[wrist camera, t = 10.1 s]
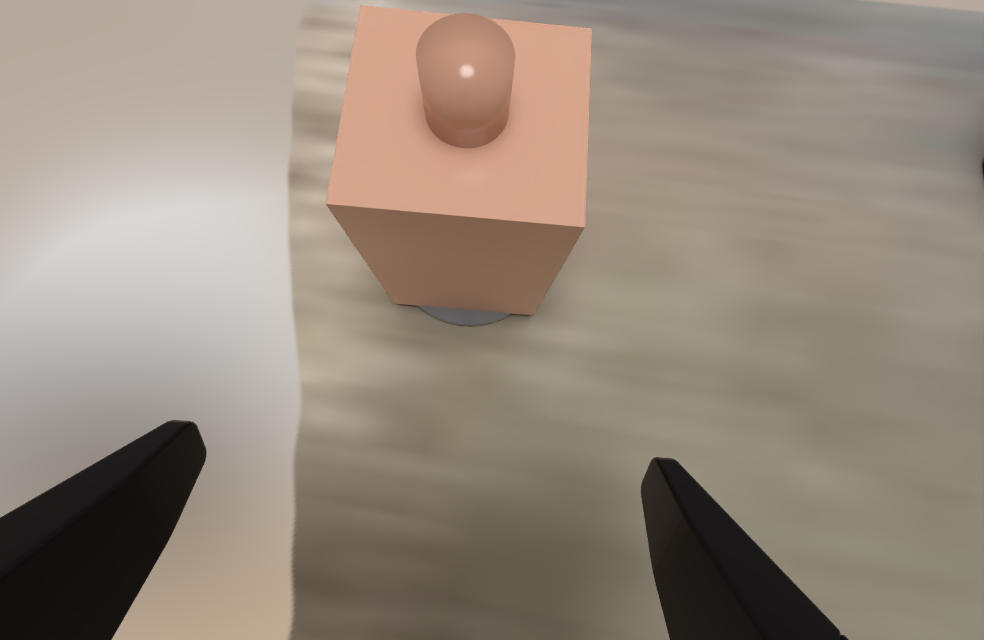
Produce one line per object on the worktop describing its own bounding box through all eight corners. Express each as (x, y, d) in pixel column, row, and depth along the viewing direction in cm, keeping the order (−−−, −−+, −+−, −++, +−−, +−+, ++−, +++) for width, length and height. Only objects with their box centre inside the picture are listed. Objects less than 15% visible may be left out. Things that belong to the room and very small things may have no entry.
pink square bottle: (533, 315, 22) (606, 190, 10) (394, 303, 22) (296, 161, 10) (540, 197, 24) (611, -38, 11) (409, 186, 24) (340, -67, 11)
